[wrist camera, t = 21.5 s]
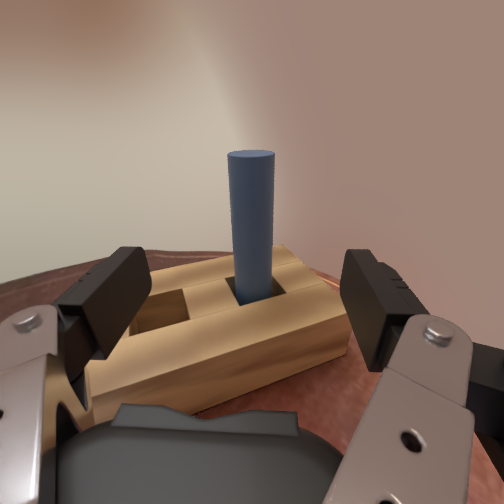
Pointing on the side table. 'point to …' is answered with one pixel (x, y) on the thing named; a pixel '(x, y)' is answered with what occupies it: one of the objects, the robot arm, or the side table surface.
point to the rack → (219, 337)
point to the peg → (252, 222)
